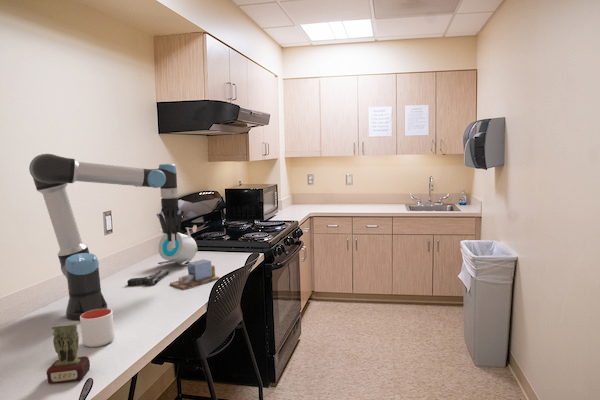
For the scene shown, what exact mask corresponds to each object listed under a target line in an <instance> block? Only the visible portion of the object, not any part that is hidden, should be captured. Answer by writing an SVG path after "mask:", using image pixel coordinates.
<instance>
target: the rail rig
mask: <svg viewBox="0 0 600 400" xmlns="http://www.w3.org/2000/svg"><path fill="white" fill-rule="evenodd" d="M211 269H212V277H211V278H208V279H204V280H201V281H197V282H195V277H194V274H189V275H188V274H185V275H183V276H182V275H181V276H180V277H178V280H176V281H172V282H169V285H170V286H171V285H172V287H174V286H175V288H177V287H178V288H179V289H180V290H187V289H190V288H194V287H197V286H200V285H201V286H202V285H205V284H208V283H210V282H214V281H218V280H220V279H221V278H220V276H218V275H216V268H215V265H212V264H211ZM219 278H220V279H219Z"/></svg>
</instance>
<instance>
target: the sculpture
mask: <svg viewBox="0 0 600 400" xmlns="http://www.w3.org/2000/svg"><path fill="white" fill-rule="evenodd" d="M51 330H53V333H52V335H53V340H52V341H53V347H54V351H55V353H56V354H57V356H58V359H57V360H55V361H54V362H53V363H52V364H51V365H50V366H49V367H48V368H47V369H46V378H47V383H48V384H53V383H55V384H56V383H65V382H77V381H82V380H83V379H84V378H85V376H86V374H87V373H88V372H89V371H90V367H91V366H90V364H91V361H90V358H89V356H79V357H78V349H79V342H80V340H79V333H78V329H77V324H66V325H65V324H64V325H63V324H62V325H55V326H52V327H51Z"/></svg>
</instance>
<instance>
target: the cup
mask: <svg viewBox="0 0 600 400" xmlns="http://www.w3.org/2000/svg"><path fill="white" fill-rule="evenodd" d="M79 322H80V329H81V330H80V331H81V332H80V333H81V339H82V344H83V345H84V346H85V347H88V348H97V347H102V346H105V345H108V344H110V343H112V342H113V341H114V339H115V336H116V335H115V326H114V316H113V310H112V309H111V308H110V309H109V308H108V309H96V310H91V311H88V312H85V313H83V314H82V315H81V316H80V320H79Z"/></svg>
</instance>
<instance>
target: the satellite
mask: <svg viewBox="0 0 600 400" xmlns="http://www.w3.org/2000/svg"><path fill="white" fill-rule="evenodd" d="M190 230H192V232H193V233H196V232H197V230H198V227H197V225H196V224H194V225H193V226H192V227H188V226H187V227H186V231H187V235H186V234H183V233H181V232H177V234H176V240H175V247H176V248H170V245H169V241H168V238H167V234H165V233H163V230H162V228H159V230H158V232H160V233H163V234H164V235H162V237H161V238H160V240H159V243H158V253H159V256H160V257H161V258H162V259H163V260H165V261H159V262H157V264H158V265H164V264H171V263H177V264H181V265H184V266H186V265H187V266H188V263H190V262H191V261H192V260H193V259H194V258H195V256H196V254H197V253H198V251H199V250H198V248H199V247H198V246H197V242H196V241H195V238H193V237H192V235H191V232H190ZM186 263H187V264H186Z"/></svg>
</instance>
